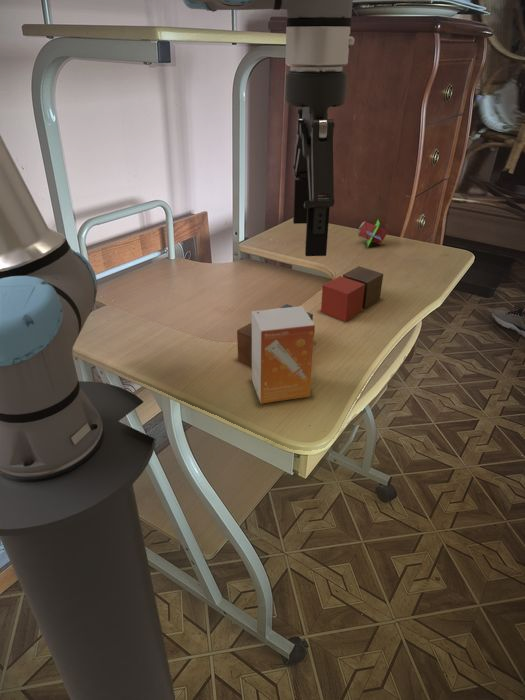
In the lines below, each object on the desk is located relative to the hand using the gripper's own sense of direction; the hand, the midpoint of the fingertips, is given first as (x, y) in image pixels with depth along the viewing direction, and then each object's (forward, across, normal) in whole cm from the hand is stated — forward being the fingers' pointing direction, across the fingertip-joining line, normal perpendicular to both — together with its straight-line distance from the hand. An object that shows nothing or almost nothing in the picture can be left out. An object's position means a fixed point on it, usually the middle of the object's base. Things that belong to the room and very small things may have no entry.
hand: (308, 237), depth 72 cm
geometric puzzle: (+23, +58, -26) cm, 67 cm away
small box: (+23, -6, +4) cm, 24 cm away
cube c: (+23, +20, -11) cm, 32 cm away
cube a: (+23, +3, +6) cm, 24 cm away
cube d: (+23, +25, -16) cm, 37 cm away
